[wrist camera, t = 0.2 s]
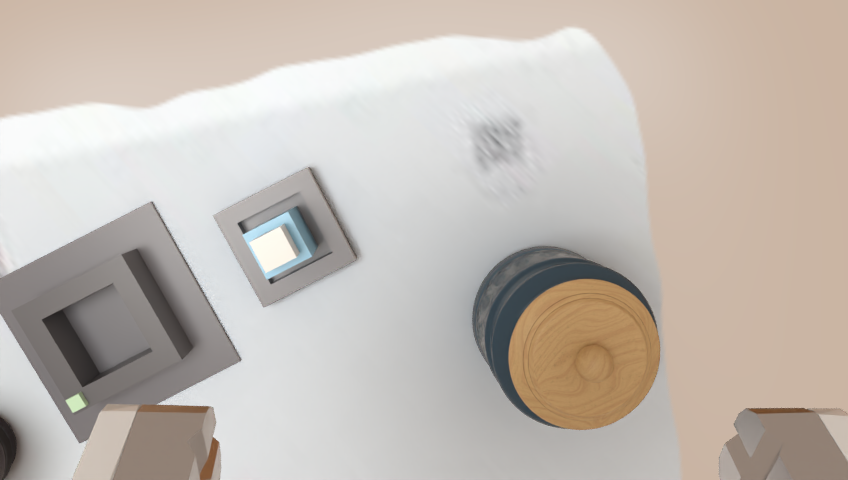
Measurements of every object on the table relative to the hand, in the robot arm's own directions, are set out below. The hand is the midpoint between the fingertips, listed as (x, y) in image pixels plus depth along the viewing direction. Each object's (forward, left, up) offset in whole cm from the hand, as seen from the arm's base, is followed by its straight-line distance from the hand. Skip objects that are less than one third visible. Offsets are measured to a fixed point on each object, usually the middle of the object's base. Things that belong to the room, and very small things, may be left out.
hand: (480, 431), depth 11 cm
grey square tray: (+2, +9, -54) cm, 54 cm away
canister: (-15, -8, -54) cm, 57 cm away
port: (+2, +26, -54) cm, 60 cm away
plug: (+2, +9, -53) cm, 54 cm away
